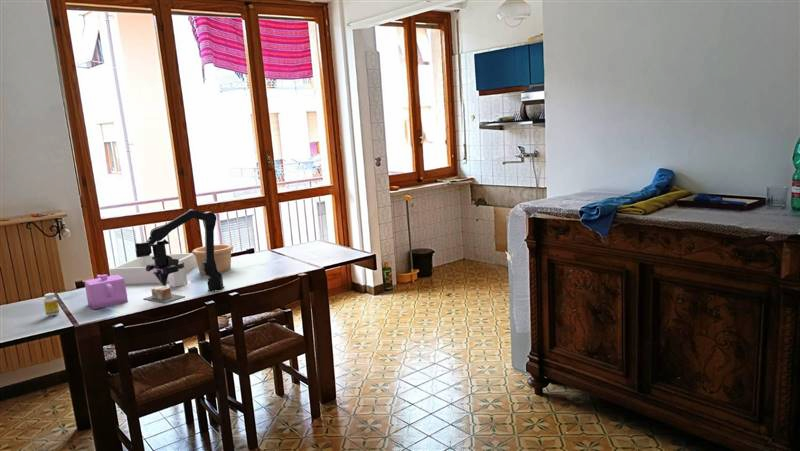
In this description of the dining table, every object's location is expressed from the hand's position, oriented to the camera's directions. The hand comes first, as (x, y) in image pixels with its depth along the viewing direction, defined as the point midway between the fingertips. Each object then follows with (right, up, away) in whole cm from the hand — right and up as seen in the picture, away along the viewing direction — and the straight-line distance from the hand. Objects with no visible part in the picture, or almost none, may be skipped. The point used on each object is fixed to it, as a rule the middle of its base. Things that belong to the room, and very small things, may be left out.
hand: (164, 285), depth 279 cm
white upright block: (-3, -3, +26) cm, 27 cm away
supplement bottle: (-47, -12, -12) cm, 50 cm away
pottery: (+9, +2, +50) cm, 51 cm away
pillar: (+1, -4, 0) cm, 4 cm away
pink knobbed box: (-29, -9, +2) cm, 30 cm away
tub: (-25, 0, +51) cm, 57 cm away
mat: (-1, -6, +2) cm, 7 cm away
